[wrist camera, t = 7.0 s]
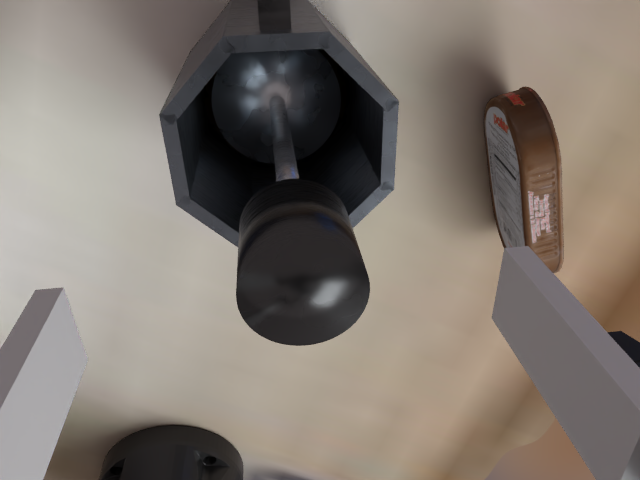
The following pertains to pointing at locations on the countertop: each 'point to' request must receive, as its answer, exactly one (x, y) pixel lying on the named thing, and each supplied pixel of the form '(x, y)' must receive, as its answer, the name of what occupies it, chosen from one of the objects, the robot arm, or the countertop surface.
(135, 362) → the countertop surface
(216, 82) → the plunger
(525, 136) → the tin
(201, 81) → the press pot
